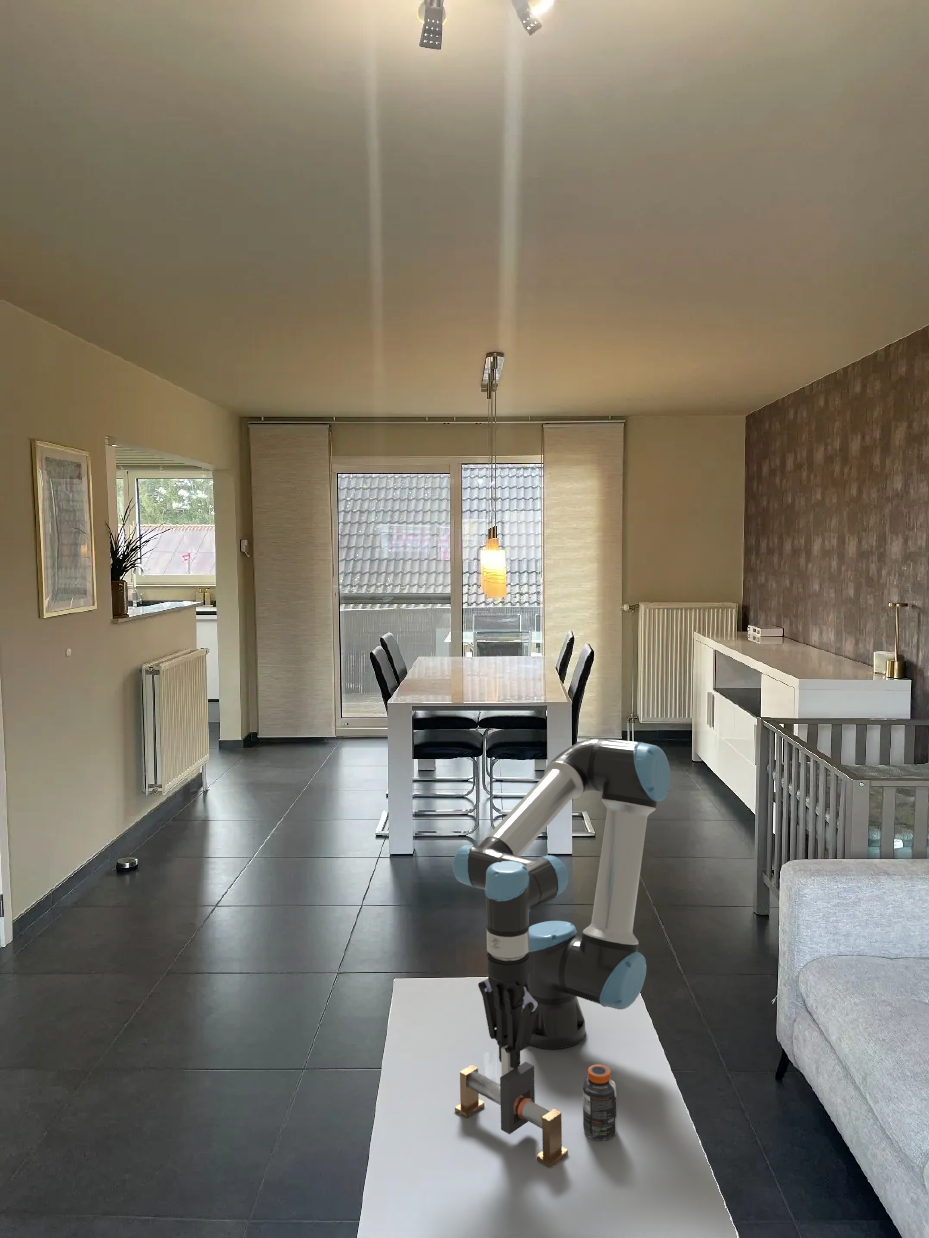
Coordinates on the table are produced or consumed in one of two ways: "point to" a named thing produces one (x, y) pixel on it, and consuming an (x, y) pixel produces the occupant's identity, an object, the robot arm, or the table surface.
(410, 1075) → the table surface
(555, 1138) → the pipe rig
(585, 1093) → the pill bottle
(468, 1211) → the table surface
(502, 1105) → the grey plate with hole
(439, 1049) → the table surface
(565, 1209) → the table surface
